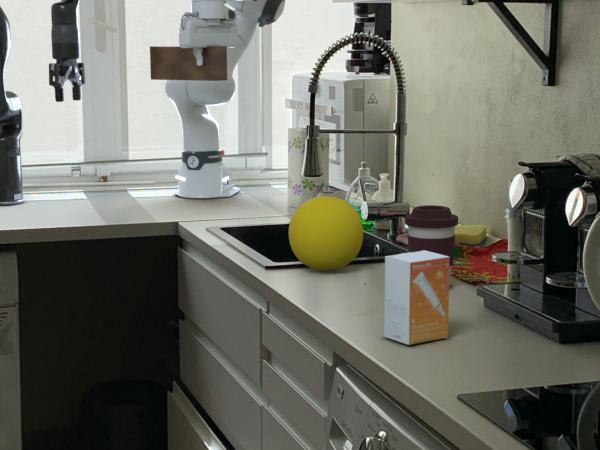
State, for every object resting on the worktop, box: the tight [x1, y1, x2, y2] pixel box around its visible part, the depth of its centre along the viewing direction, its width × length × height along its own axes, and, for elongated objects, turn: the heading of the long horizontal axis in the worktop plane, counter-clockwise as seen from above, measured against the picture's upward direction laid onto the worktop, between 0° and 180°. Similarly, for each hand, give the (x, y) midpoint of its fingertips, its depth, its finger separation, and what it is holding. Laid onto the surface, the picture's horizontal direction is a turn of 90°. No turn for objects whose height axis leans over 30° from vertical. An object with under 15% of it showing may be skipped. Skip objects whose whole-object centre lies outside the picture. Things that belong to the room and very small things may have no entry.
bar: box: [149, 45, 227, 81], centre depth 284 cm, size 23×5×9 cm, turn 54°
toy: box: [288, 195, 364, 271], centre depth 213 cm, size 15×15×15 cm
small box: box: [383, 250, 450, 346], centre depth 162 cm, size 8×6×13 cm
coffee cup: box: [404, 204, 459, 286], centre depth 197 cm, size 10×10×15 cm
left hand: (68, 101), depth 289 cm, fingers open, 8 cm apart
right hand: (209, 65), depth 280 cm, fingers closed on bar, 5 cm apart
